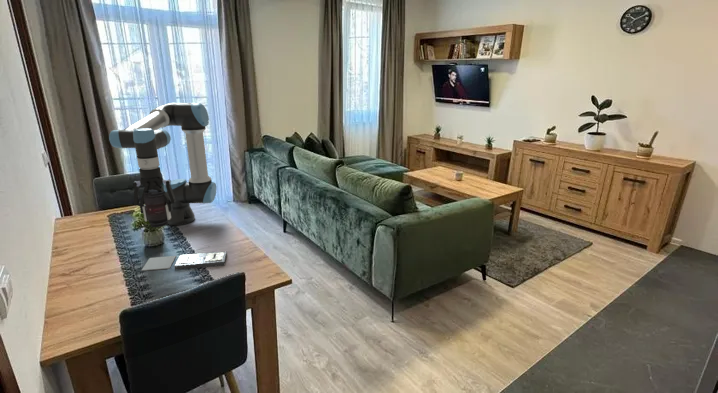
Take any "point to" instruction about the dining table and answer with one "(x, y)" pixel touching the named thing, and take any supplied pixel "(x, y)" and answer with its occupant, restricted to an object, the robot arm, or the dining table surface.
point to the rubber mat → (159, 263)
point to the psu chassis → (201, 260)
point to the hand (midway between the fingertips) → (158, 219)
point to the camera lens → (156, 208)
